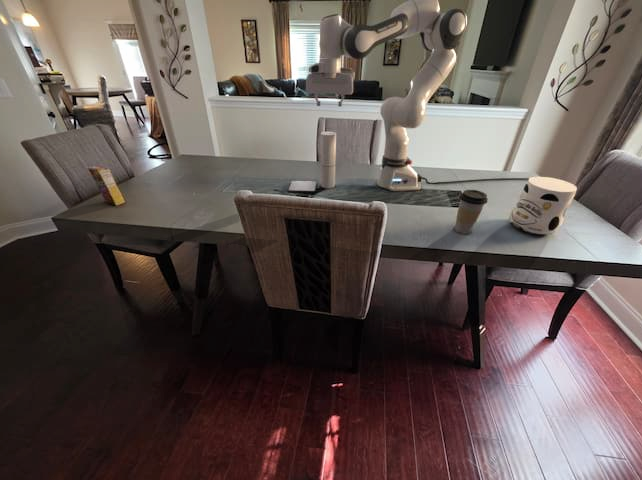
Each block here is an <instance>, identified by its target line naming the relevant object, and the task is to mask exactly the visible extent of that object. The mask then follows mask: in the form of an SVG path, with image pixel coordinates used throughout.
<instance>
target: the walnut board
mask: <svg viewBox="0 0 642 480" xmlns="http://www.w3.org/2000/svg"><path fill="white" fill-rule="evenodd" d="M317 184H318V182H317V180H314V181H312V180H291V182H290V185H289V187H288V190H287V192H288V193H291V194H292V193H293V194H316V189H317Z"/></svg>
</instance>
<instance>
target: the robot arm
mask: <svg viewBox="0 0 642 480" xmlns="http://www.w3.org/2000/svg"><path fill="white" fill-rule="evenodd" d="M467 24H468V17H467V13H466V11H464V10H463V9H461V8H451V9H449V10H447V11H445V12H444V13H442V12H441V10H440V2H439V0H407V1H405V2H403V3H401V4H399V5H398V6H396V7H395V8H394V9H392V12H391V14H390V16H389V18H386V19H384V20H382V21H379V22H378V23H375V24H372V25H368V24H363V23H359V24H356V25H352V24H350V23H349V22H347V21H346V20H345V19H344V18H342V15H340V14H338V13H335V14H334V13H333V14H330V15H326V16H324V17H323V18H322V19H321V21H320V23H319V34H318V47H319V56H318V62H316V63H313V64H312V65H309V66H308V74H307V75H306V80H305V81H306V82H305V92H306V93H307V94H308V95H314V96H313V97H314V100H315V101H316V106H317V107H321V100H319V99H318V97H319V95H340V96H341V97H340V98H341V99H340V101H338V105H337V106H338V107H339V108H340V107H342V106H343V101H344V100H345V98H346V97H345V95H346V96H347V95H349V96H351V95H352V94H353V93H354V80H355V78H356V77H355V76H356V73H355V70H354V69H353V68H351V67H341V65H342V57H345V58H350V59H355V60H362V59H364V58H367V57H368V55H369V54H370V53H371V52H372V51H373V50H374V49H375V48H376V47H378V46H380V45H382V44H384V43H388V42H389V41H392V40H394V39H396V40H403V39H407V38H411V37H413V36H416V35H417V34H418V35H419V36H420V42H421V45H422V47H423V49H424V50H425V51H427V52H431V54H430V56H429V58H428V59H427V61H425V63H424V64H423V65H422V67H420V69H419V70H418V72H417V73H416V74H415V76H413V78H412V79H411V81H410V90H409V92H408V94H407V95H406V96H405V97H399V96H391V97H387V98H386V99H384V101H382V104H381V106H380V116H381V118H382V120H383V125H384V133H385V134H384V135H385V139H384V140H385V142H384V150H383V155H382V158H381V164H380V165H381V167H380V173H379V176H378V179H377V182H376V184H377V186H379V187H380V188H382V189H386V190H389V191H391V192H403V191H419V190H421V189H422V183H421V182H422V180H424V181H425V183H426V184H429V185H440V184H456V183H469V182H482V181H485V182H486V181H507V180H508V181H509V180H510V181H511V180H512V181H513V180H514V181H516V180H517V181H523V180H524V181H528V180H529V178H530V177H499V178H497V177H495V178H479V179H478V178H477V179H464V180H452V181H438V182H430V181H428V179H427V178H426V177H423V176H421V174H420V173H417V171H415V169H414V168H413V167H411V166H410V165H412V164H413V161H412V159H410V158H409V157H408V156H407V155H408V150H409V143H410V139H409V136H408V134H407V130H406V129H417V128H419V127H420V126H421V125H422V124H423V123H424V120H425V118H426V107H427V104H428V102H429V101H430V99H431V97H432V96H433V95H434V93H435V92H436V91H437V90H438V89H439V87H440V86H441V85H442V84H443V83H444V81H445V80H446V78H447V77H448V76H449V74H450V73H451V71H452V70H453V68H454V67H455V65H456V62H457V54H456V52H455V49H456V48H457V47H458V46H459V45H460V43H461V40H462V38H463V36H464V34H465V32H466V28H467V26H468V25H467Z"/></svg>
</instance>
